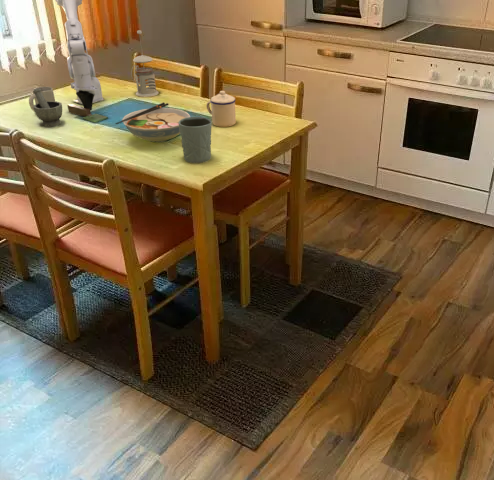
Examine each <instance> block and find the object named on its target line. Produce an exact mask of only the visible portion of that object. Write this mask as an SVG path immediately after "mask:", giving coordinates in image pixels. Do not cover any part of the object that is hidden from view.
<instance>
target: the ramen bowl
mask: <svg viewBox="0 0 494 480" xmlns="http://www.w3.org/2000/svg"><path fill="white" fill-rule="evenodd" d="M169 105H170V104H169V103H168V102H160V103H158V104H157V105H154V106H152V107H149V108H144V109H139V110H135V111H132V112H131V111H130V113H128V114H125V115H124V116H123V118H122V119H121V120H120V121H117V122H115V123H114V124H115V125H119V124H123V125H124V126H125V128H126V129H127V130H128V131H129V133H131V135H133V136H134V137H136V138H139V139H141V140H143V141H148V142H151V143H164V142H167V141H168V140H172V139H174V138H176V137H177V136H179V135H181V134H180V129H179V123H178V122H179V121H180V120H181V119H184V118H188V117H191V115H190V114H189V113H188V112H187V111H185V110H182V109H179V108H171V107H167V106H169Z"/></svg>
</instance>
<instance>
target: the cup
mask: <svg viewBox="0 0 494 480" xmlns="http://www.w3.org/2000/svg"><path fill="white" fill-rule="evenodd" d="M35 89H41V93H42V95H43V96H44V98H45V100H46V102H47V101H56V97H55V93H54V89H53V87H52V86H38V87H34V88H32V90H31V91H32V94H31V95H29V98H28V105H29V107H30V109H31V111H33V112H34V113H35V111H34V105H35V104H38V103H39V102H38V100H37V98H36V95H35V94H34V93H33V91H34V90H35Z"/></svg>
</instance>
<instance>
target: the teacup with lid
mask: <svg viewBox="0 0 494 480" xmlns="http://www.w3.org/2000/svg"><path fill="white" fill-rule="evenodd" d="M210 106H211V107H210ZM206 110H207V112H208V113H209V114H210V115H211V121H212V125H214V126H215V127H221V128H225V127H226V128H227V127H232V126H234V125H236V123H237V118H236V97H235V96H233V95H230V94H228V93H226V91H225V90H220V91H219V93H217V94H216V95H214V96H212V97H211V98H210V99H209V101H207V102H206Z"/></svg>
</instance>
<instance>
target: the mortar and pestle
mask: <svg viewBox="0 0 494 480" xmlns="http://www.w3.org/2000/svg"><path fill="white" fill-rule="evenodd" d="M33 93H34V94H35V95H36V98H37V100H38V102H39V103H38V104H35V103H34V111H35V112H34V111H33V112H34V113H35V114H34V115H35V116H36V117H37V118H38V120H40V121H42V126H44V127H49V128H52V127H57V126H59V125H61V120H60V119H61V118H62V115H63V104H62V102H60V101H56V100H55V101H47V102H46V100H45V98H44V96H43V95H42V93H41V89H35V90H34V91H32V94H33Z"/></svg>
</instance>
